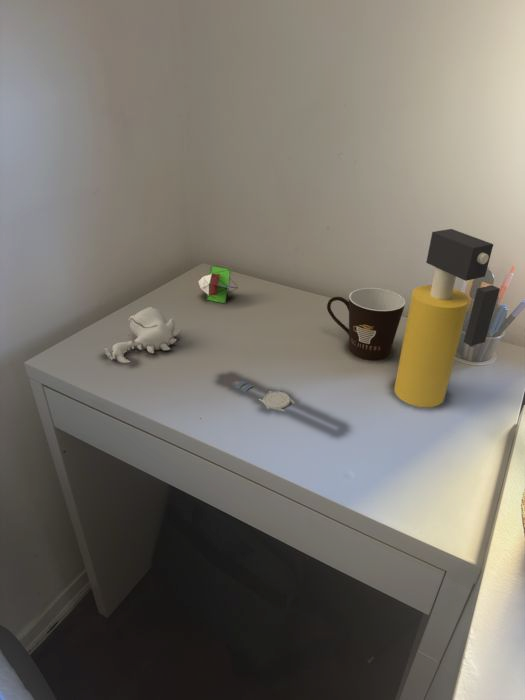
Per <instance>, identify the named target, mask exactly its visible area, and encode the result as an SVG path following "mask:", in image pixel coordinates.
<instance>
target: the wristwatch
mask: <svg viewBox="0 0 525 700" xmlns="http://www.w3.org/2000/svg"><path fill="white" fill-rule="evenodd" d="M246 384H247V385H246ZM244 385H245V386H244ZM243 386H244V387H243ZM242 387H243V388H242ZM253 387H254V385H253V384H252V383H247V382H246V381H244V380H242V381H240V382H239V383H237V384H236V385H235V386H234V388H236V389H238V390H239V389H241V388H242V389H241V391H242V392H245V393H246V392H247V391H248V390H249V389H251V388H253ZM258 400H259V401H260V402H261V403H262V404H263V405H264V406H265V408H266V409H267V410H275V411H280V412H281V411H282V412H286V410H285V409H284V408H287V407H288V406H289V405H290V403H292V404H296V402H295V401H294V400H293V399H292V398H291V396H289V394H287V392H283V391H278V390H275V391H269V390H268V393H266V394H265V395H264V396H263V399H261V398H258Z"/></svg>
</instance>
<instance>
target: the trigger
mask: <svg viewBox="0 0 525 700" xmlns="http://www.w3.org/2000/svg"><path fill="white" fill-rule="evenodd" d="M500 291H501V288H500V287H497V286H495V285H493V284H490V285H486V286H482V287H477V288H476V292H475V296H474V300H473V303H472V307H471V312H470V315H469V319H468V322H467V325H466V326H467V327H466V330H465V335H464V339H463V343H464V344H467V345H468V346H470V347H473V346H477V345H480V344H483V343H485V342H486V339H487V335H488V332H489V330H490V329H489V328H490V325H491V321H492V318H493V315H494V311H495V308H496V304H497V301H498V298H499V295H500Z"/></svg>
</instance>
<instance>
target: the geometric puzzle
mask: <svg viewBox="0 0 525 700" xmlns="http://www.w3.org/2000/svg"><path fill="white" fill-rule="evenodd" d="M209 269H210V270H209ZM209 269H208V270H207V271H209V274H207V275H202V276H201V278H200V279H199V280H198V281H197V283H198V286H199V288H200V290H201V291H202V292H203V293H204V294H206V298H205V300H206V301H212V302H216V303H220V304H224V305H226V303H227V301H228V300H229V299H227V298H228V294H229V293H230V292H233V291H236V290H238V289H239V287H238V284H237V283H236V282H234V281H232V283H233V284H234V285H235V286H232V285H229V284H230V282H231V276H230V275H231V274H233V273H232V271H231V268H225V267H219V266H213V265H210V268H209ZM230 289H232V290H230ZM229 290H230V291H229ZM232 295H233V294H231V296H230V297H232Z"/></svg>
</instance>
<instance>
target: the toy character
mask: <svg viewBox="0 0 525 700" xmlns="http://www.w3.org/2000/svg"><path fill="white" fill-rule="evenodd" d="M128 321H129V329H130V330H131V332H132V333H133V335H135V336H136V338H135V339H134V338H133V336H132V334H131V333H130V332H126V335H127V336H129V337H130V340H128V341H121V342H117V343H115V344H113V346H112V349H111V350H112V353H111V352H110V350H109V348H107V347H106V348H104V350H105V353H104V354H105V355H106V356H107V358H108V359H109V360H110V361H113V360H116V361H117V362H118V363H121V364H125V363H131V360H129V359H126V356H125V353H127V351H128V350H129V351H130V350H131V349H132V350H134V349H135V347H137V349H139V351H141V350H142V348H144V349H146V351H147V352H148V353H149V354H154V353H155V351H161V350H162V351H169V350H171V348H170V345H173V344H174V343H176V341H177V340H178V339H177V338H175V337H176V336H177V335H179V334H180V331H181V329H179V328H175V326H176V321H175V320H174V319H173V318H170V319H169V320H168V322H167V320H166V316H165V315H164V313H163V312H162V311H161V310H160V309H158V308H155V307H154V306H149V307H146V308H143V309H141V310H140V311H138V312H137V313H136V314H134V315H133V314H132V315H130V316H129V318H128Z"/></svg>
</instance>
